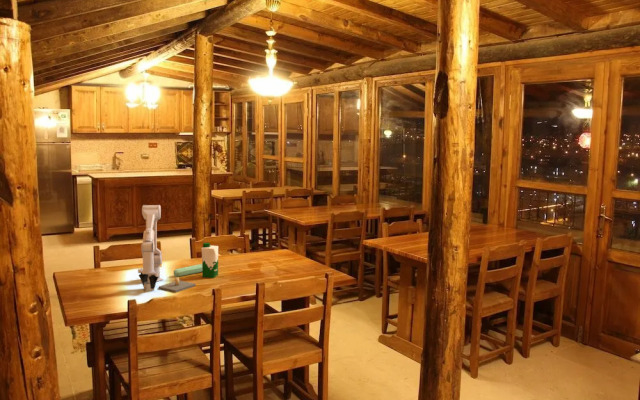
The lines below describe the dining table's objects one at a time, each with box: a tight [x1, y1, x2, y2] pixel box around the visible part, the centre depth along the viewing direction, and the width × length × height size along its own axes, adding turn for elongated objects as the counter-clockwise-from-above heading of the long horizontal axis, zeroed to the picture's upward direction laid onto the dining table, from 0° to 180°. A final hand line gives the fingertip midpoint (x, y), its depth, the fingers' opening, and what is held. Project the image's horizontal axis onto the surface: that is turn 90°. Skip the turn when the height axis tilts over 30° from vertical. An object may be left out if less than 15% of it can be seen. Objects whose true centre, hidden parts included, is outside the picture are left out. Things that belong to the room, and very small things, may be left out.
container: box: [173, 263, 202, 278], centre depth 338 cm, size 6×6×25 cm
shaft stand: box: [158, 277, 196, 293], centre depth 309 cm, size 13×15×5 cm
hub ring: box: [143, 281, 155, 292], centre depth 304 cm, size 5×5×4 cm
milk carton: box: [200, 242, 219, 279], centre depth 331 cm, size 9×9×20 cm
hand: (149, 287), depth 304 cm, fingers closed on hub ring, 5 cm apart
